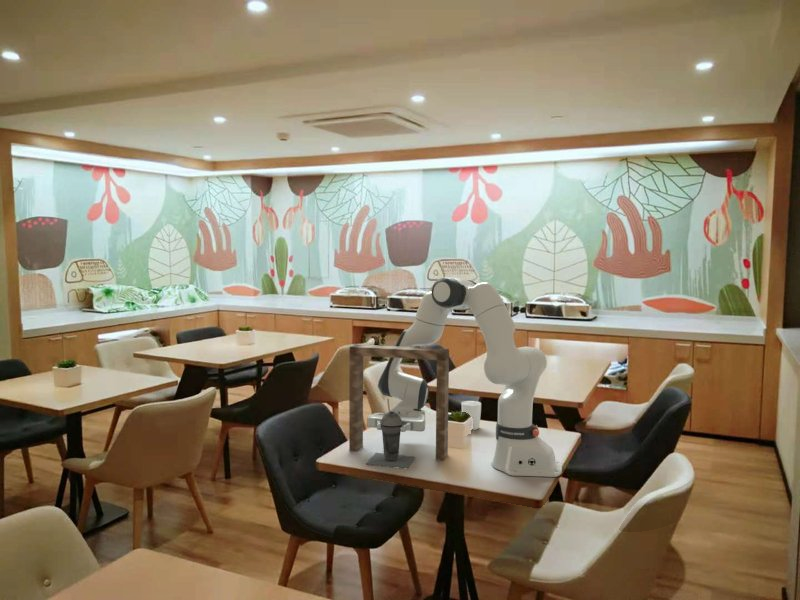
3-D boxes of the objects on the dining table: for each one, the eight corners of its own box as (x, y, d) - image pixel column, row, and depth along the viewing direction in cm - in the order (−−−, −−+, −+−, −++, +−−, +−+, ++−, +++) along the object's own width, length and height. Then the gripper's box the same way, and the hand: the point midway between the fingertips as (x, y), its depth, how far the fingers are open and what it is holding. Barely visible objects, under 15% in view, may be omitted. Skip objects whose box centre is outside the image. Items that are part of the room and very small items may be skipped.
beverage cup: (399, 462, 196) (400, 402, 195) (378, 460, 198) (378, 401, 196) (403, 455, 203) (404, 397, 202) (383, 453, 205) (383, 396, 203)
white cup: (483, 426, 243) (483, 401, 242) (477, 431, 236) (477, 406, 235) (464, 423, 246) (464, 399, 245) (458, 428, 239) (458, 404, 238)
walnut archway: (447, 454, 208) (449, 348, 205) (444, 460, 202) (445, 351, 199) (355, 445, 217) (355, 344, 214) (349, 450, 211) (349, 346, 208)
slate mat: (415, 457, 204) (415, 456, 204) (407, 468, 194) (407, 467, 193) (376, 454, 208) (376, 452, 208) (366, 464, 197) (366, 463, 197)
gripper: (373, 406, 215) (360, 416, 201) (429, 410, 209) (420, 421, 196) (373, 424, 215) (360, 435, 202) (429, 428, 210) (420, 440, 197)
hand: (390, 428), depth 199 cm, fingers closed on beverage cup, 7 cm apart
